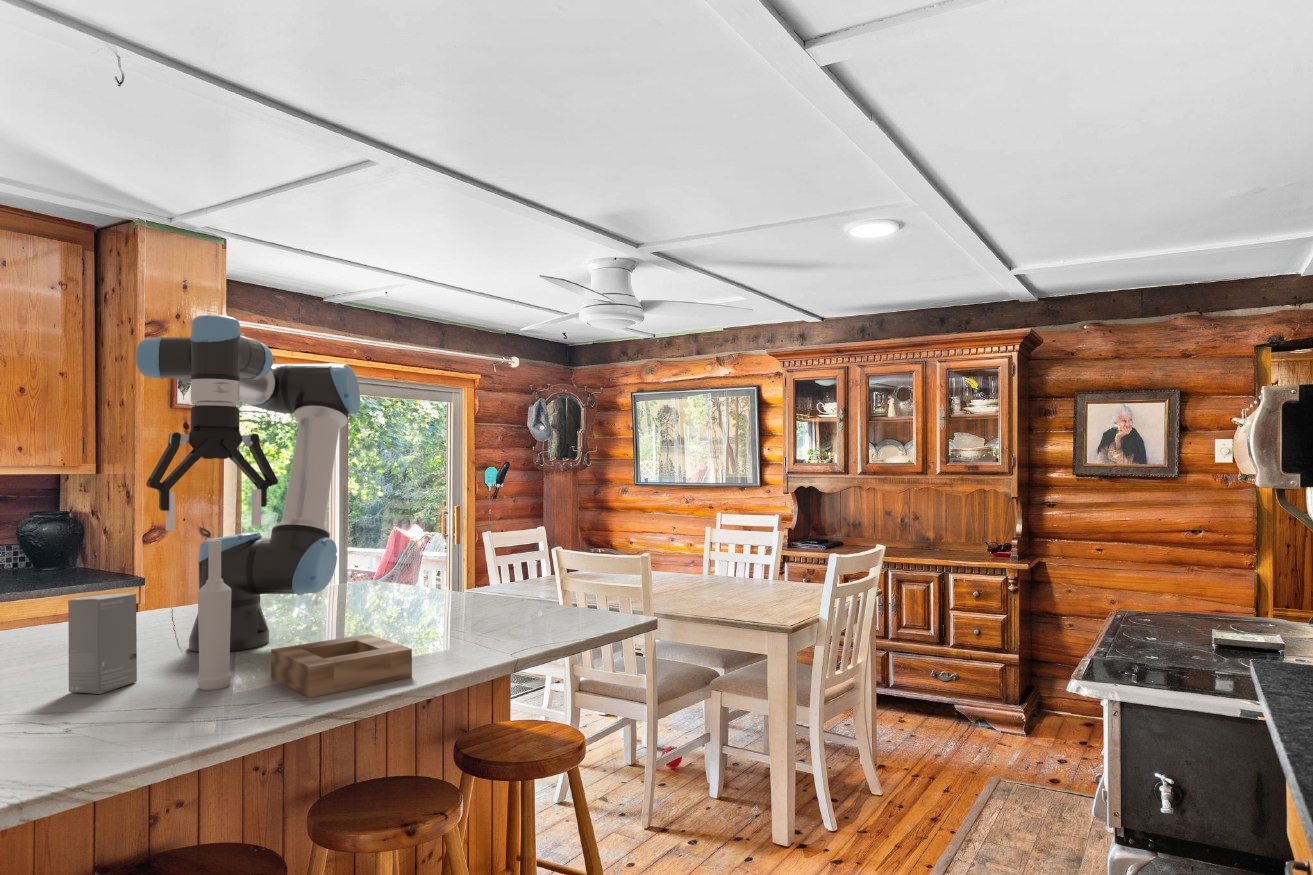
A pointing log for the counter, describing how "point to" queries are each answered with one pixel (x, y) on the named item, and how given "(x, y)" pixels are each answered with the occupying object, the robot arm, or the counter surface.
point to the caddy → (340, 664)
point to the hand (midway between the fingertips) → (214, 528)
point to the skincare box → (102, 643)
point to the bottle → (214, 625)
